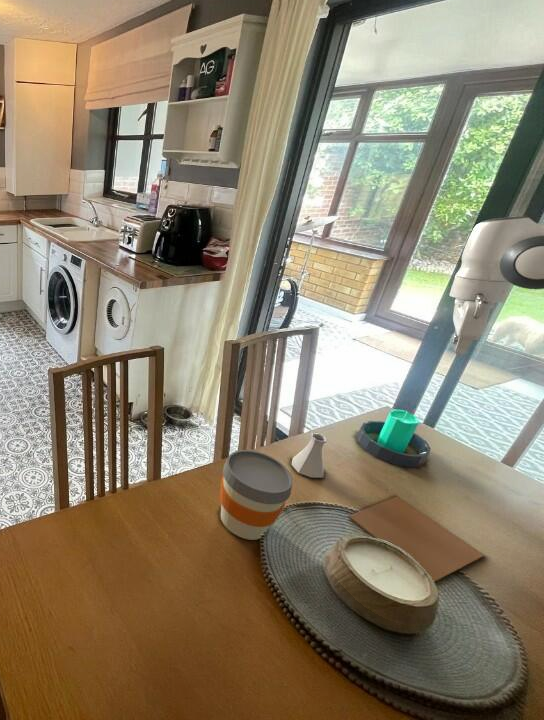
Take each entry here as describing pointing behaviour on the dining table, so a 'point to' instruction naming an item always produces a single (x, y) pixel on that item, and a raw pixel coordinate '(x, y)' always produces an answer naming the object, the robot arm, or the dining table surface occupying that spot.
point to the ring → (387, 453)
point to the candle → (398, 430)
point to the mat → (417, 537)
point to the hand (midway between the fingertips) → (458, 348)
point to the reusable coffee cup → (253, 492)
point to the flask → (311, 458)
